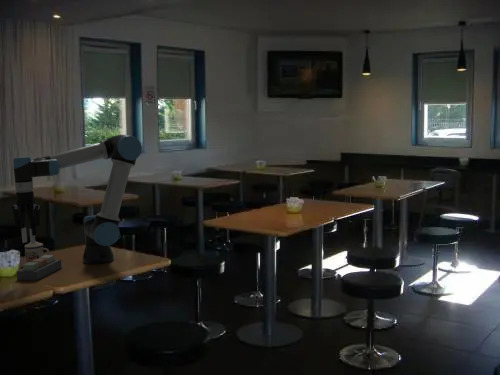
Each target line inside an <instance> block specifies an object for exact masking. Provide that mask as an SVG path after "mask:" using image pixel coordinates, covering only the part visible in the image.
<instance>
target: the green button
mask: <svg viewBox="0 0 500 375" xmlns="http://www.w3.org/2000/svg"><path fill="white" fill-rule="evenodd" d="M22 269H24V271H35V270H37V269H39V263H38V262H29V263H26V262H25V263H24V264H23V265H22Z"/></svg>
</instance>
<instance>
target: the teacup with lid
mask: <svg viewBox="0 0 500 375" xmlns="http://www.w3.org/2000/svg"><path fill="white" fill-rule="evenodd" d="M23 248H24V254H25V264H26V263H29V262H32V261H33V260H35V259H40V257H42V256H44V255H45V253H44V251H46V255H50V250H49V249H48V248H46V247H44V243H42V242H38V241H35V242H34V243H31V241H30V242H28V243H27V244H25V245H24V246H23Z"/></svg>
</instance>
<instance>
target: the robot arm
mask: <svg viewBox="0 0 500 375" xmlns="http://www.w3.org/2000/svg"><path fill="white" fill-rule="evenodd" d="M142 151H143V147H142V143H141V141H140V140H139V139H138V138H137V137H136V136H133V135H131V134H117V135H113V136H112V137H108V138H106V139H101V140H99V143H98V142H97V143H95V144H89V145H87V146H82V147H78V148H74V149H71V150H65V151H62V152H58V153H55V154H50V155H45V156H42V157H36V158H33V159H32V158H31V157H30V156H16V157H14V158H13V162H12V163H13V175H14V177H13V178H14V186H15V191H16V192H15V198H16V199H15V200H16V203H15V204H14V205H11V209H12V212H13V219H14V225H15V228H18V229H19V233H20V236H21V238H22V240H21V241H22V244H25V243H27V242H28V234H27V232H28V231H27V227H26V225H25V224H26V215H27V218H28V221H29V225H30V228H29V240H30V242H31V243H34V242H36V235H37V228H38V227H40V209H41V205H40V204H36V203H35V197H34V196H35V193H34V191H33V190H34V182H33V181H34V180H33V178H39V177H52V176H59V174H60V170H61V169H65V168H70V167H73V166H77V165H81V164H84V163H90V162H93V161H96V160H101V159H104V160H109V159H110V160H111V162H112V166H111V170H110V172H109V173H110V174H109V177H108V181H107V186H106V189H105V193H104V197H103V200H102V204H101V207H100V211H99V212H98V213H96V214H94V215H87V216H84V218H83V233H84V234H83V235H84V245H85V247H84V251H83V255H82V263H84V264H87V265H89V264H90V265H98V264H106V263H109V262H112V261H114V258H115V256H114V252H113V250H112V247H111V246H112V245H114V244H115V243H116V242H118V240H119V238H120V228H119V226H120V221H121V219H120V217H119V215H120V214H119V213H120V210H121V207H122V201H123V199H124V195H125V191H126V187H127V183H128V179H129V175H130V172H131V169H132V168H133V167H134V166H135V165H136V162H137V159H138V158H139V157H140V156H141V154H142Z"/></svg>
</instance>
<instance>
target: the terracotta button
mask: <svg viewBox="0 0 500 375" xmlns="http://www.w3.org/2000/svg"><path fill="white" fill-rule="evenodd" d="M32 262H38V263H39V267H43V266H45V265H47V260H46V259H35V260H33V261H32Z"/></svg>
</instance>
